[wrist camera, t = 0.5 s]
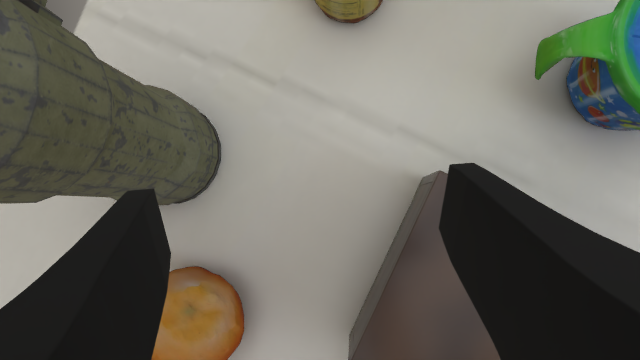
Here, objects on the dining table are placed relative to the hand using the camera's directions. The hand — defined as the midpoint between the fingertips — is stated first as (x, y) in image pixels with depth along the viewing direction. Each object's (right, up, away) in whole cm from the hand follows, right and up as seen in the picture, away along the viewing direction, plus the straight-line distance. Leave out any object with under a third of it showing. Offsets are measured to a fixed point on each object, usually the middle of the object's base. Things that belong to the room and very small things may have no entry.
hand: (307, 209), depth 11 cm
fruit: (-9, -10, +27) cm, 31 cm away
